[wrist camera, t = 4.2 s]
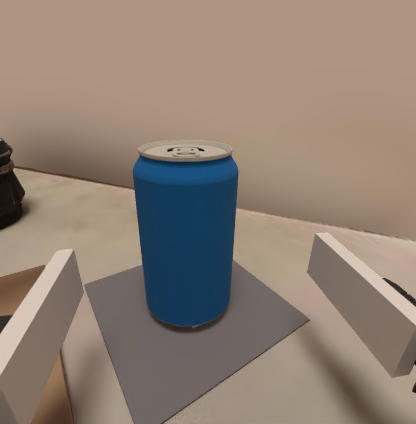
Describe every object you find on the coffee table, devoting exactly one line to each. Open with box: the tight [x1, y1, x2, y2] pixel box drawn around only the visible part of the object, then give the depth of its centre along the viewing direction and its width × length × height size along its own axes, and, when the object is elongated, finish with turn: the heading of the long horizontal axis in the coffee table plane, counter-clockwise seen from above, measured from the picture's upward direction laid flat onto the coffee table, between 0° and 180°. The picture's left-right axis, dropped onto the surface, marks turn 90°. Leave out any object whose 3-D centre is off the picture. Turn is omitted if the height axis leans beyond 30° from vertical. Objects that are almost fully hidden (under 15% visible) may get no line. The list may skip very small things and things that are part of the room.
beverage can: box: [133, 140, 238, 327], centre depth 18 cm, size 6×6×12 cm
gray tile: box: [85, 260, 310, 424], centre depth 21 cm, size 13×13×1 cm
